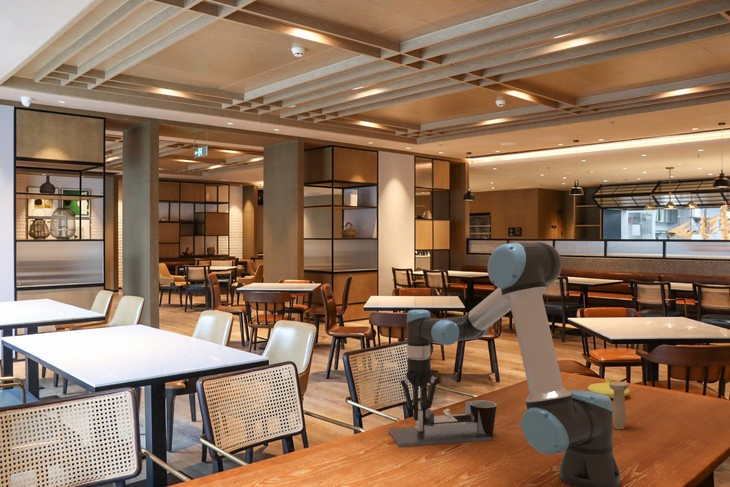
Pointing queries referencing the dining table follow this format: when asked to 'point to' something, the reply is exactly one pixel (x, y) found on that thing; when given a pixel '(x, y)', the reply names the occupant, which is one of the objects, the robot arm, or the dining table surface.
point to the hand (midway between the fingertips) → (419, 429)
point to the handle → (619, 403)
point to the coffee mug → (484, 414)
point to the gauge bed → (419, 440)
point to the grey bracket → (438, 418)
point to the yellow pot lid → (604, 388)
